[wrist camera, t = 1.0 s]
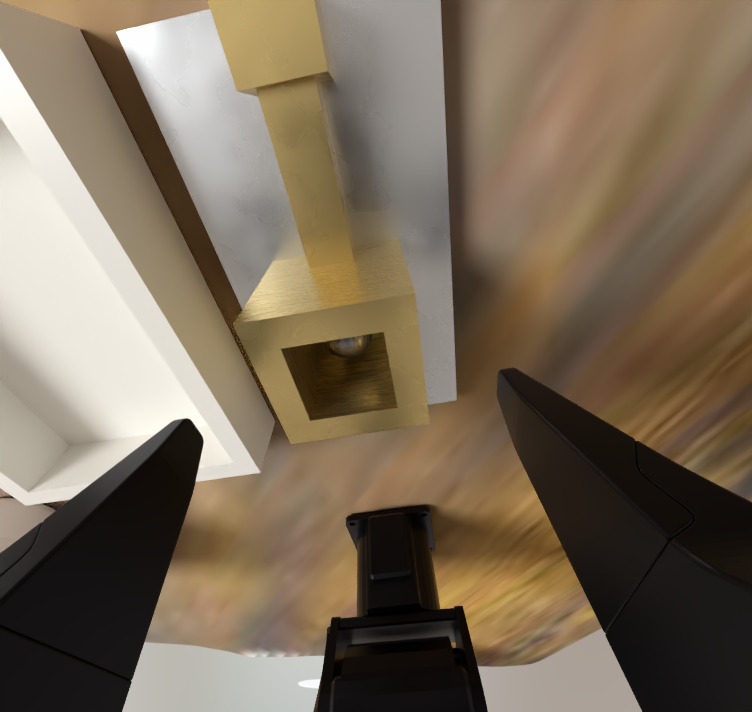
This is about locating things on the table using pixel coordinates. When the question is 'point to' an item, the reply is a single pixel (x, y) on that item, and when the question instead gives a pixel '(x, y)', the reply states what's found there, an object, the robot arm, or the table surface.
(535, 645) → the table surface
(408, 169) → the stud plate
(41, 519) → the cup
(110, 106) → the bin
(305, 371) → the strut
